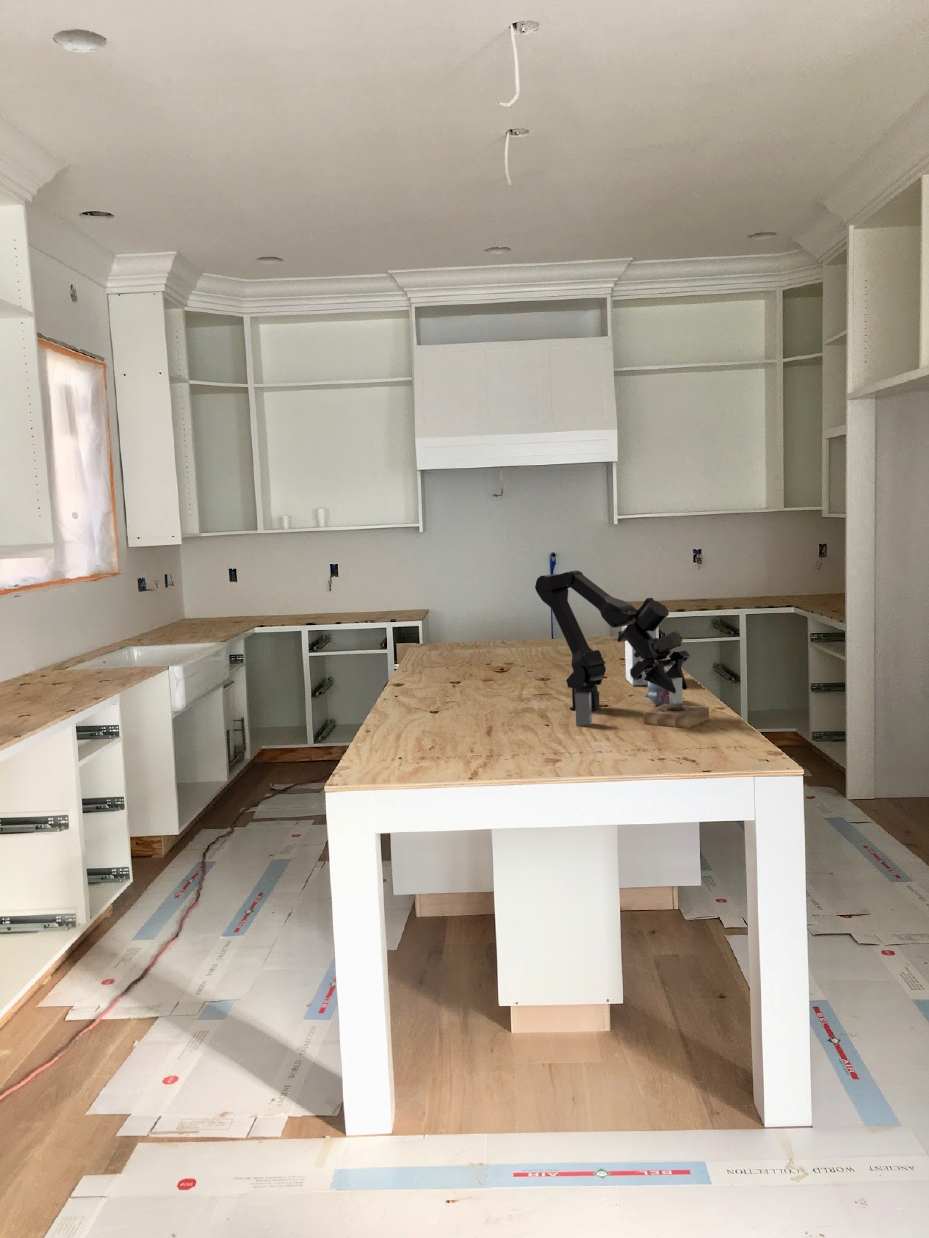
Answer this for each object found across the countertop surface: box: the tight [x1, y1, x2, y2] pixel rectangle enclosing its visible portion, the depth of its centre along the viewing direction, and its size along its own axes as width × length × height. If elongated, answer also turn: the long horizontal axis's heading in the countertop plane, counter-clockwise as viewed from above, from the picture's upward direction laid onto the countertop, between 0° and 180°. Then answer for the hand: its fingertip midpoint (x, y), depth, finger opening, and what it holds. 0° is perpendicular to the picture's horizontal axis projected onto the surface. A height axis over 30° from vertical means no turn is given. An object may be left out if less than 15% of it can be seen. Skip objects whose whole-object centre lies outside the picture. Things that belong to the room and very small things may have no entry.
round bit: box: [669, 677, 684, 712], centre depth 247 cm, size 3×3×11 cm
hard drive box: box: [624, 626, 657, 687], centre depth 308 cm, size 16×8×20 cm, turn 179°
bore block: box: [643, 704, 710, 729], centre depth 248 cm, size 12×12×3 cm
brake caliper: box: [644, 669, 684, 706], centre depth 273 cm, size 11×11×12 cm
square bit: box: [575, 692, 593, 727], centre depth 249 cm, size 3×3×8 cm
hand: (680, 690), depth 246 cm, fingers open, 5 cm apart
